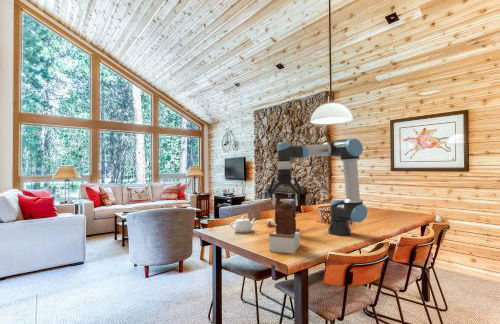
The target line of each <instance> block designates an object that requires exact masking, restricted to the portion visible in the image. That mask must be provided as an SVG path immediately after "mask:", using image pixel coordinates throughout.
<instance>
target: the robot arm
mask: <svg viewBox="0 0 500 324" xmlns="http://www.w3.org/2000/svg"><path fill="white" fill-rule="evenodd" d="M276 147H277V150H276V153H277V169H278V170H277V177H276V176H274V177H272V179H271V180H272V181H271V183H270V185H269V188H268V189H267V193H268V194H269V195H270V199H271V200H272V206H275V205H276V193H275V192H276V190H277V189H278V188H279V187H280V186H284V185H285V186H286V185H287V186H289V187H290V189H292V190H293V192H295V207H298V206H299V201H300V197H301V196H300V195H301V194H303V189H302V187H301V186H300V183H299V181H298V179H297V176H293V177H292V169H291V168H292V164H291V160H292V159H295V160H297V159H306V158H311V157H321V156H324V157H335V158H336V157H338V158H340V162H342V164H343V176H344V179H343V180H344V190H345V199H336V200H335V199H334V200H331V201H330V205H329V207H330V208H329V211H330V223H329V226H328V230H327V232H328V234H330V235H334V236H350V235H351V234H352V230H351V226H350V224H349V221H350V222H352V223H361V222H363V221H365V219H366V218H367V216H368V208H367V206H366V205H364V204H363V200H362V199H361V198H360V197H361V196H360V183H359V182H360V181H359V170H358V161H359V160H360V156H361V155H362V154H363V152H364V151H363V149H364V147H363V144H362V142H361V141H360V140H359V139H357V138H354V137H353V138H345V139H337V140H334V141H329V142H324V143H323V144H311V145H310V144H309V145H291V142H290V141H281V142H278V143H277V146H276ZM276 181H277V183H276ZM291 181H293V182H294V184H295V186H294V184H293V183H292V182H291ZM275 183H276V185H275ZM273 187H274V188H273Z"/></svg>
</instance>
